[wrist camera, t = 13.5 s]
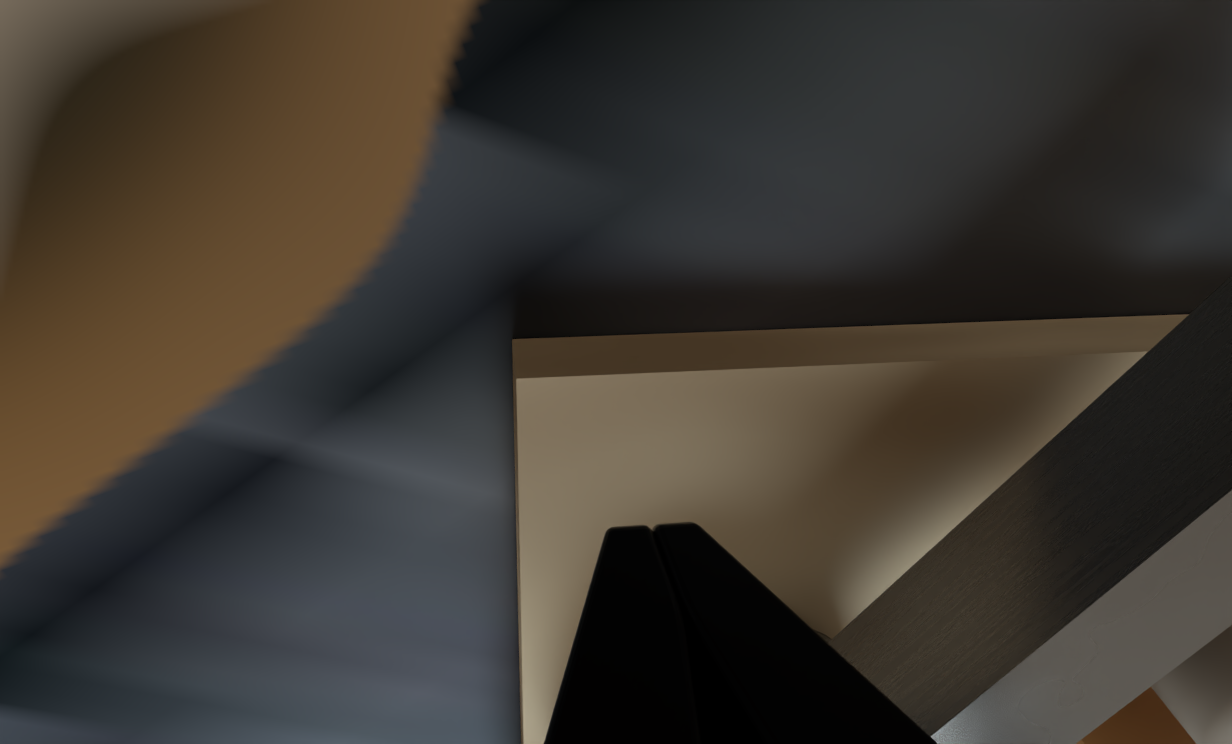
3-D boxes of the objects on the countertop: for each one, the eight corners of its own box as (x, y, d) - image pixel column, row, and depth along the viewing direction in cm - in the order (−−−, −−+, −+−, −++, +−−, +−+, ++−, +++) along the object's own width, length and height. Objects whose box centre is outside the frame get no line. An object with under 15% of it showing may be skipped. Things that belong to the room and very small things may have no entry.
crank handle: (726, 860, 17) (781, 1073, 14) (493, 778, 14) (501, 1009, 12) (1303, 375, 13) (1544, 534, 10) (1096, 167, 11) (1328, 294, 8)
